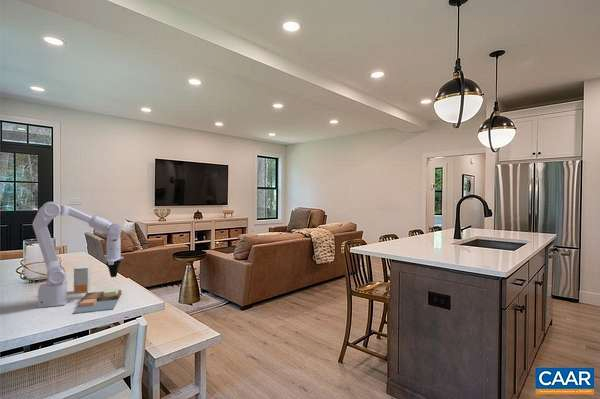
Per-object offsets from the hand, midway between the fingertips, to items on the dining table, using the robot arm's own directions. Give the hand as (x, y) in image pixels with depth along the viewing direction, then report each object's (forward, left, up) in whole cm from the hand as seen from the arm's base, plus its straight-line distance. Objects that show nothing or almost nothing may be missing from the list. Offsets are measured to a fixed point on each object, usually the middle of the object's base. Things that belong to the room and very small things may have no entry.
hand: (113, 276), depth 148 cm
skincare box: (-15, +8, -8) cm, 19 cm away
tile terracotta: (-7, -14, -8) cm, 17 cm away
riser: (-4, -6, -8) cm, 11 cm away
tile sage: (0, -7, -6) cm, 9 cm away
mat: (-4, -17, -8) cm, 19 cm away
